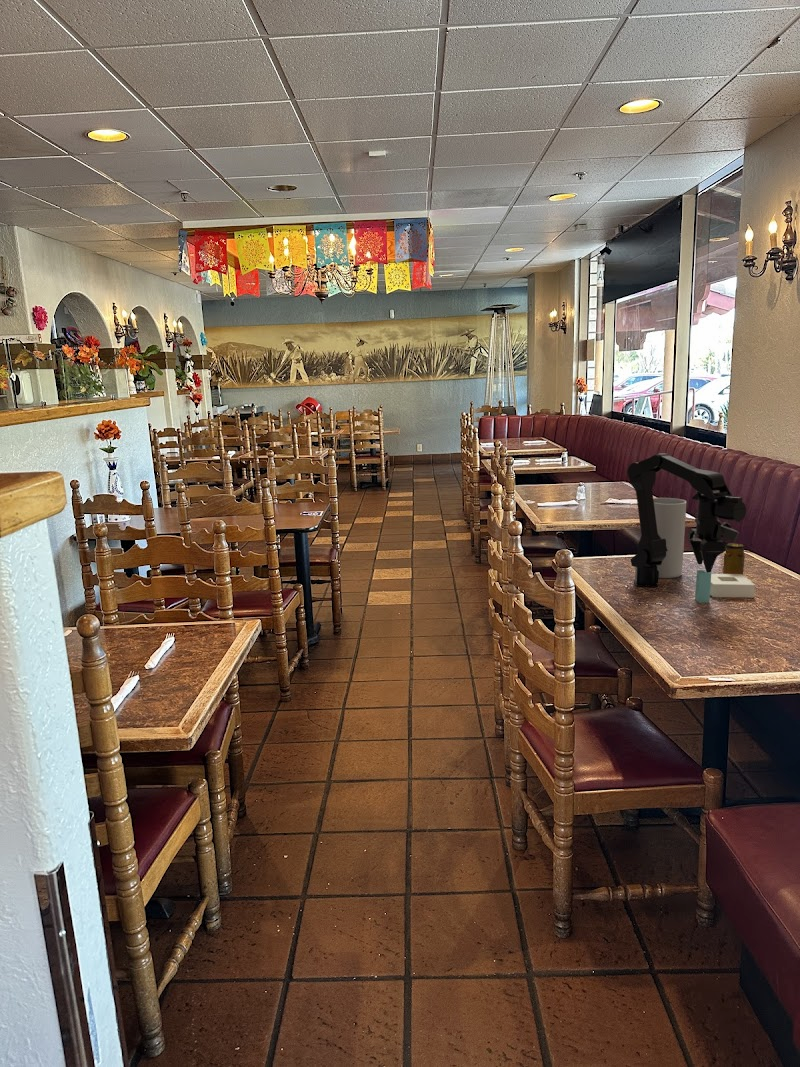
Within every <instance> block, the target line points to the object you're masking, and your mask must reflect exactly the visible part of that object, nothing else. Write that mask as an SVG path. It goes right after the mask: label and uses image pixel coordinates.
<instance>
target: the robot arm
mask: <svg viewBox="0 0 800 1067" xmlns="http://www.w3.org/2000/svg"><path fill="white" fill-rule="evenodd" d="M662 470H663V471H666V472H668V473H669V474H672V475H674V476H676V477H678V478H680V479H682V480H684V481H686V482H687V483H689V485H690V487H691V488H692V489H693V490H695V491H696V493H695V494H694V495H693V496H691V500H695V501H698V502H697V512H696V513H697V514H696V517H695V518H694V522H695V523H696V528H690V529H689V530H688V531H687V532H686V533H687V534H686V539H687V538H688V542H689V544H690V547H691V550H692V552H693V554H694V558H695V560H696V563H697V564H698V565H703V566H704V568H705V570H706V572H707V573H710V572H711V573H712V570H713V567H714V565H715V562H716V560H717V557H718V556H720V555H721V554H724V553H725V552H726V546H727V543H725V542H724V541H723V540H722V539H721V538H723V539H726V540H727V541H730V542H731V543H736V540H737V538H738V536H739V534H740V532H739V531H737V530H736V529H734V528H733V527H732V528H731V526H732V525H731V524H730V523H728V522H726V521H731V522H736V523H737V522H738V523H740V522H742V521H743V520H744V518H745V517H746V515H747V507H746V504H745V502H743V497H742V496H733V495H732V493H731V491H730V489H729V486H728V485H727V483H726V481H725V479H724V475H723V474H721V473H720V472H717V471H713V470H706V469H701V468H700V469H699V468H697V467H695V466H693V465H691V464H688V463H686V462H684V461H682V460H680V459H677V458H675V457H673V456H671V455H670V454H669V453H667V452H666V453H665V452H664V453H655V454H654V455H652V456H650V457H649V458H648V457H647V458H646V459H642V460H640V461H638V462H636V461H635V462H632V463H630V465H629V466H628V467H627V469H626V471H627V472H626V473H627V476H628V481H629V484H630V485H631V487H632V488H633V489H634V490H635V495H636V502H637V503H636V504H637V510H638V516H639V517H638V518H639V524H640V525H639V526H640V533H641V535H640V538H639V542H638V544H637V553H636V554H635V555H634V556H632V558H631V559H630V564H631V567H634V579H633V582H634V585H635V586H637V587H649V588H650V587H657V588H658V587H659V582H660V581H659V579H660V578H659V571H658V570H657V565H661V564H662V561H663V559H664V558H665V557H666V551H668V550H667V547H666V539H661V537H660V536H659V535H658V531H657V524H656V516H655V508H654V500H653V498H654V492H653V488H654V485H655V482H656V479H657V475H656V474H657V473H658V472H661V471H662ZM719 519H721V520H725V521H724V522H722V521H721V520H719Z"/></svg>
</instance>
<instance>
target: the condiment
mask: <svg viewBox="0 0 800 1067" xmlns="http://www.w3.org/2000/svg"><path fill="white" fill-rule="evenodd" d="M726 545H727V546H726V551H725V552H724V553H723V554H724V555H723V566H722V574H742V575H744V570H745V559H746V558H745V557H746V556H745V555H746V554H745V553H744V552H745V545H743V544H741V543H736V542H731V543H726ZM750 581H751V582H752V583H753V582H754V580H750Z"/></svg>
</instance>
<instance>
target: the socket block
mask: <svg viewBox="0 0 800 1067" xmlns="http://www.w3.org/2000/svg"><path fill="white" fill-rule="evenodd" d="M751 581H752V580H750V579H749V578H747V577H746V576H745V575H744V574H743V575H742V574H723V573H711V585H710V596H711V597H712V598H750V599H751V598H753V599H754V598H755V592H756V584H755V583H753V582H751Z"/></svg>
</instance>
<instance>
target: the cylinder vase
mask: <svg viewBox="0 0 800 1067" xmlns="http://www.w3.org/2000/svg"><path fill="white" fill-rule="evenodd" d="M653 500H654V508H655V516H656V524H657V531H658V535H659V536H660V537H661V539H666V547H667V550H668V551H666V557H665V558H664V559H663V561H662V564H661V565H657V570H658V571H659V579H674V578H678V577H681V575H682V574H683V564H684V563H683V562H684V548H685V534H686V533H685V531H686V513H687V500H685V499H680V498H673V497H653Z"/></svg>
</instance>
